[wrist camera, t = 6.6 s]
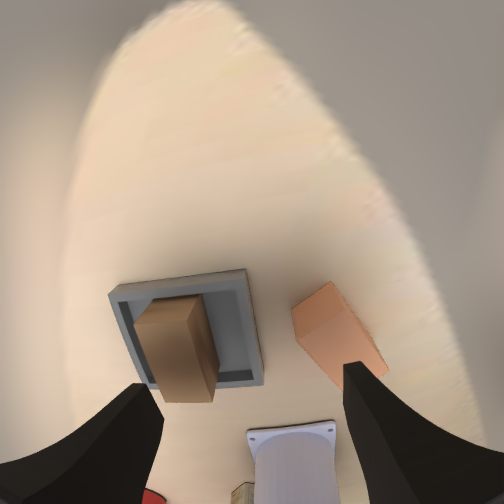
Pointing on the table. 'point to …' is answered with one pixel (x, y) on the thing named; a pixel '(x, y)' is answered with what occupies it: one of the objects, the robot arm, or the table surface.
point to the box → (243, 494)
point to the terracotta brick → (334, 334)
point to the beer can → (152, 498)
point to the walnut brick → (180, 348)
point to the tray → (219, 314)
